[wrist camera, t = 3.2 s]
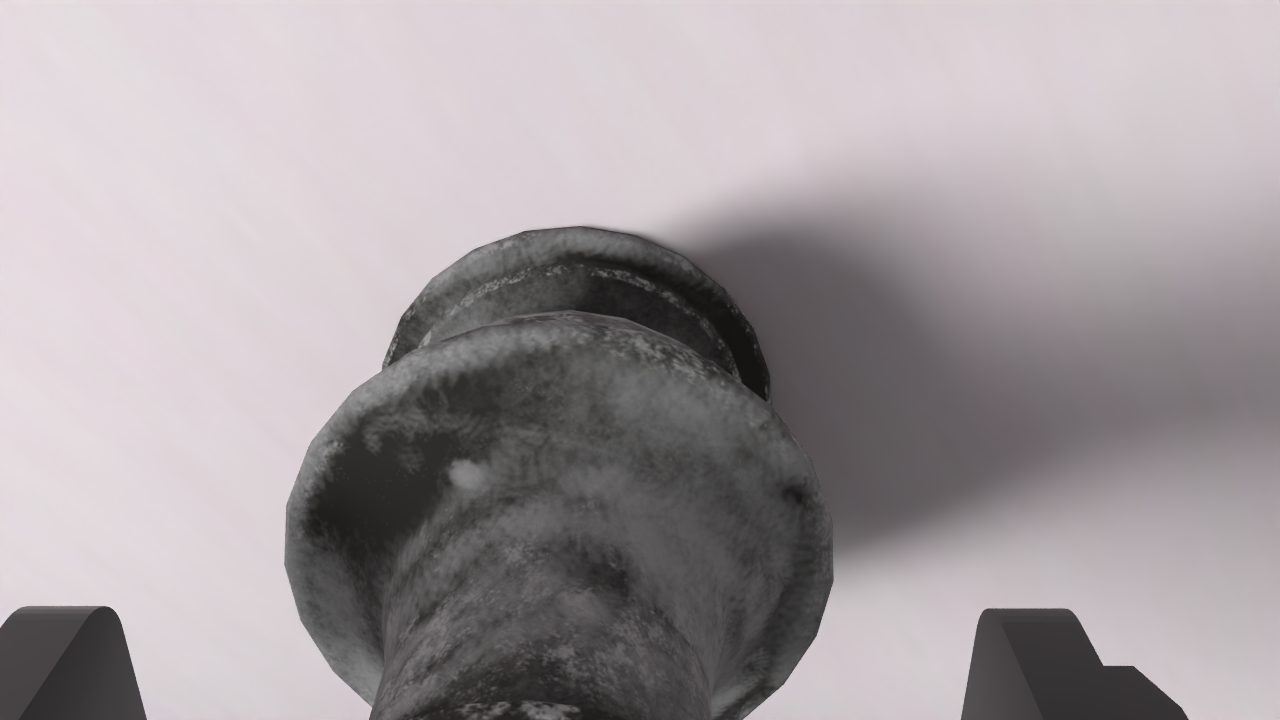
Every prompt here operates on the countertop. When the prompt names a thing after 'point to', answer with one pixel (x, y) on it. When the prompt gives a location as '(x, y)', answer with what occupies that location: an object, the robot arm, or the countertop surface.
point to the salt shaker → (562, 499)
